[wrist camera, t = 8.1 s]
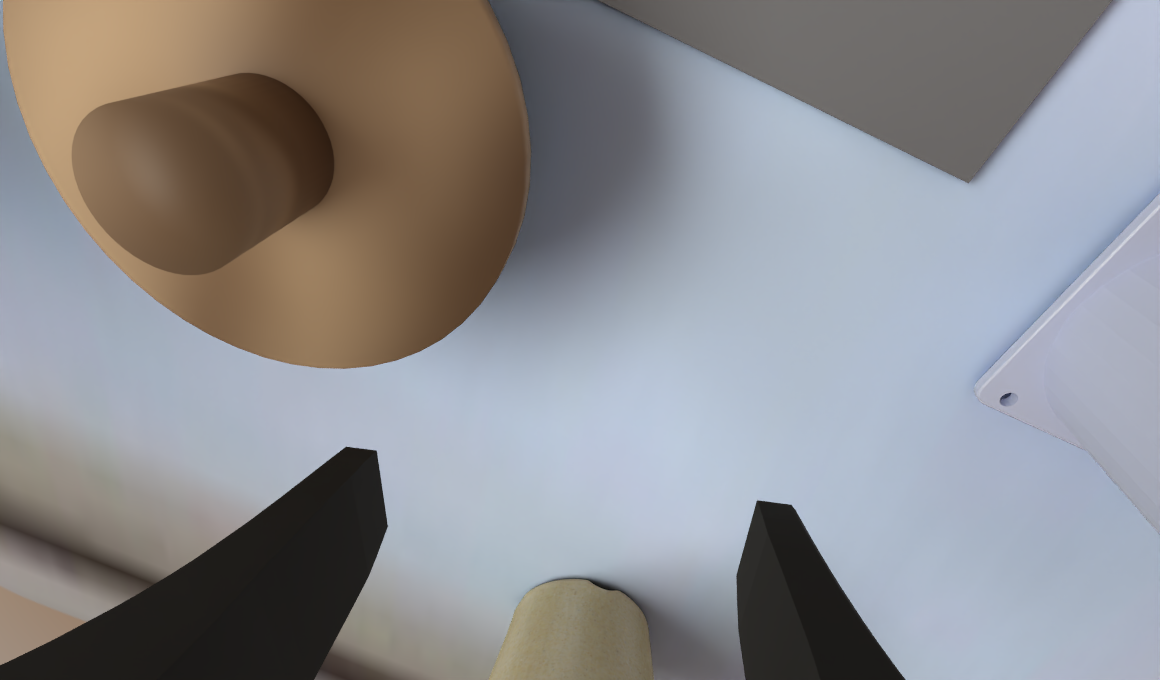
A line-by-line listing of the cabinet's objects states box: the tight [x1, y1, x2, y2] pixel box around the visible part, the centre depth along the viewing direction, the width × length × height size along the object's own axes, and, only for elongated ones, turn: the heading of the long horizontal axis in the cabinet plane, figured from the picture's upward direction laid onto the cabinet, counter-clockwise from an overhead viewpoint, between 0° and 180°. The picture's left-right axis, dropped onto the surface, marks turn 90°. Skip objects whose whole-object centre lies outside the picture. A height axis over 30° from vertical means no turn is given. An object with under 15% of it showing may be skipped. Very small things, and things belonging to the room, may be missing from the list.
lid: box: [3, 0, 531, 369], centre depth 13 cm, size 12×12×4 cm
